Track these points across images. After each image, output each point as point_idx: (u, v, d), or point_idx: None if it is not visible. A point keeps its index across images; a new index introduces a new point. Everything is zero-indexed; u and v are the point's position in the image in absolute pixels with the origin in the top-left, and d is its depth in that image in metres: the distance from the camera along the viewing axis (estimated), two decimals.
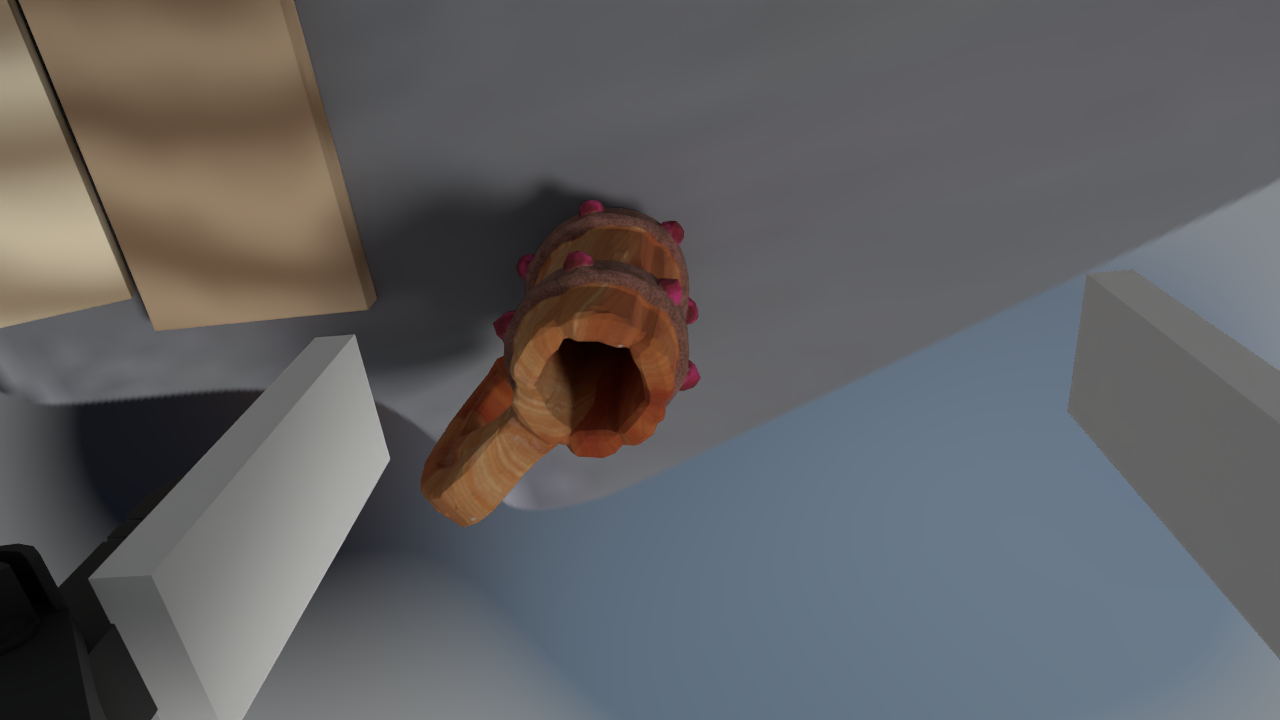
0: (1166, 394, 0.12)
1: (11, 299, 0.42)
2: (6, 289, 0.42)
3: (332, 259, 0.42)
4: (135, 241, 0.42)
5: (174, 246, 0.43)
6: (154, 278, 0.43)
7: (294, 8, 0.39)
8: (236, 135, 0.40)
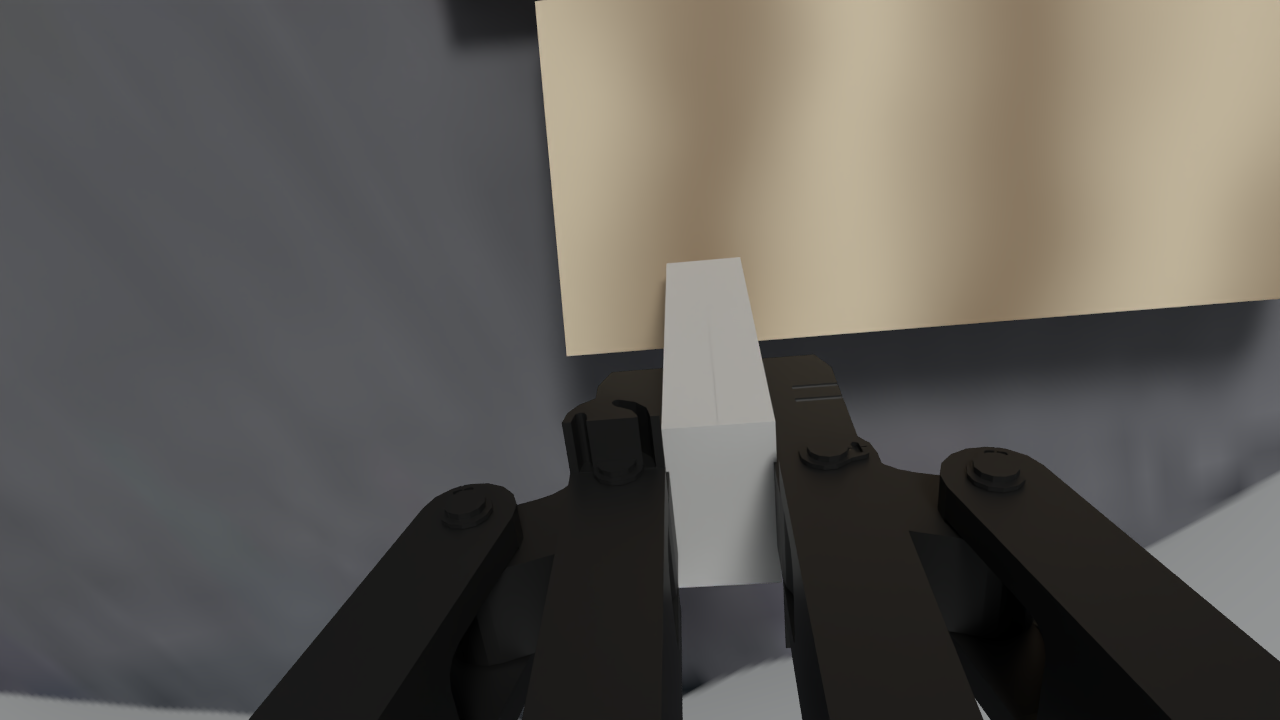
0: None
1: None
2: None
3: None
4: None
5: None
6: None
7: None
8: None
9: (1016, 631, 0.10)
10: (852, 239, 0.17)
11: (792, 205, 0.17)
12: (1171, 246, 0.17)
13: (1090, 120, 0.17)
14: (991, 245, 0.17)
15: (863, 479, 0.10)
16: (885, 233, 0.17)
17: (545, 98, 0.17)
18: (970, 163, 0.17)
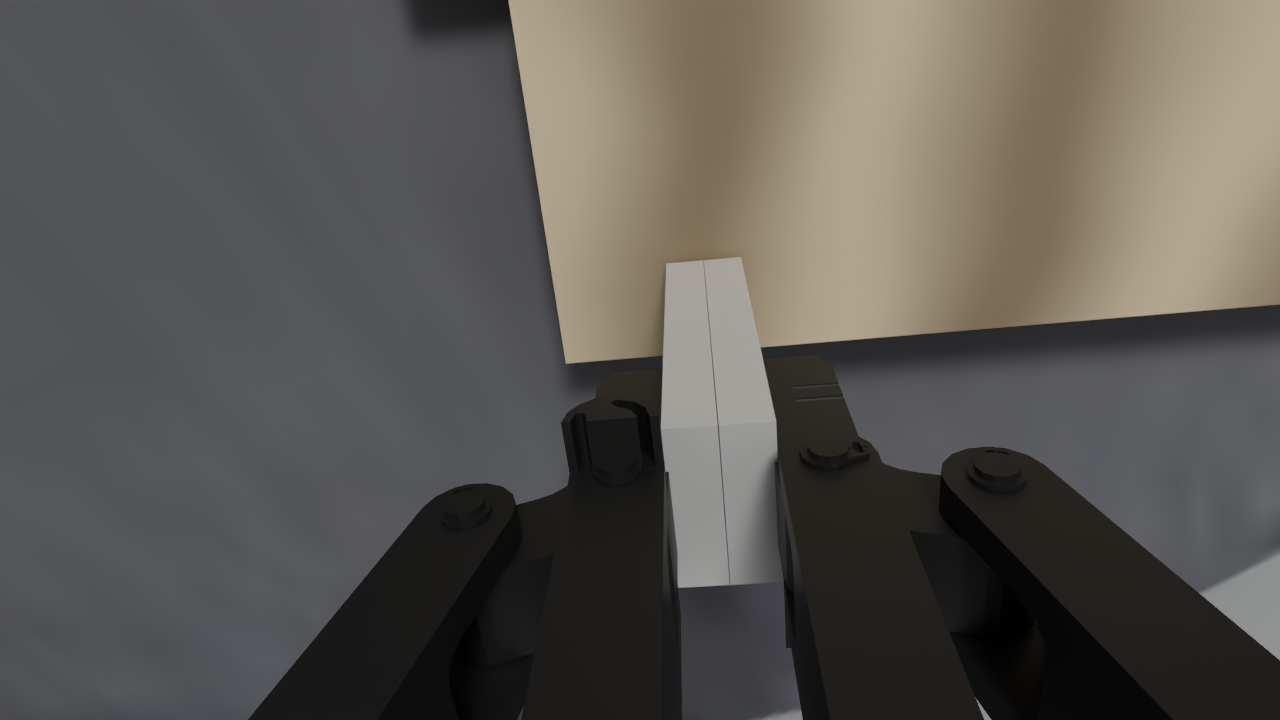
0: None
1: None
2: None
3: None
4: None
5: None
6: None
7: None
8: None
9: (1018, 630, 0.10)
10: (857, 250, 0.17)
11: (796, 216, 0.16)
12: (1181, 254, 0.16)
13: (1123, 124, 0.15)
14: (1000, 255, 0.16)
15: (864, 479, 0.10)
16: (891, 244, 0.16)
17: (526, 101, 0.16)
18: (988, 171, 0.16)
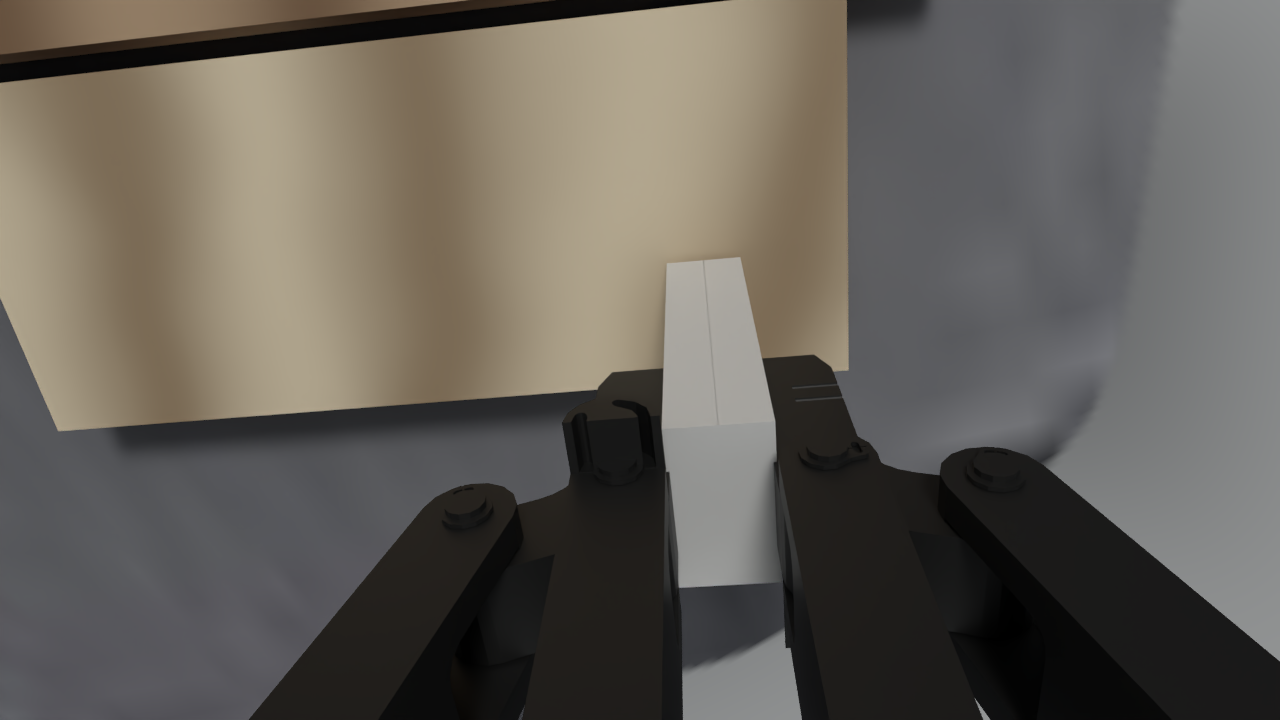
0: None
1: (784, 268, 0.17)
2: (756, 270, 0.17)
3: None
4: None
5: None
6: None
7: None
8: None
9: (1017, 630, 0.10)
10: (294, 330, 0.18)
11: (230, 300, 0.18)
12: (588, 337, 0.18)
13: (500, 220, 0.17)
14: (424, 336, 0.18)
15: (863, 479, 0.10)
16: (323, 325, 0.18)
17: None
18: (391, 261, 0.17)
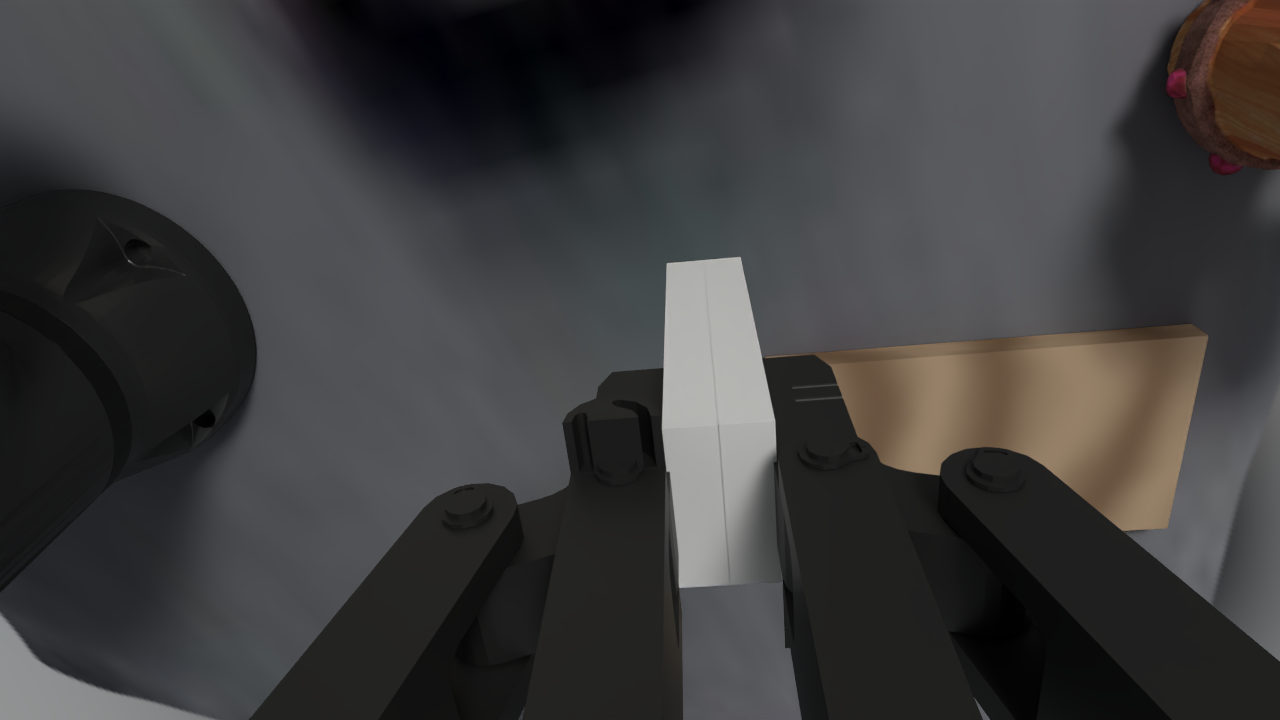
0: None
1: None
2: None
3: (1144, 359, 0.42)
4: None
5: (1091, 491, 0.46)
6: (1115, 515, 0.46)
7: (902, 347, 0.44)
8: (1004, 417, 0.44)
9: (1016, 630, 0.10)
10: None
11: None
12: None
13: None
14: None
15: (862, 479, 0.10)
16: None
17: None
18: None
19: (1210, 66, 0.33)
